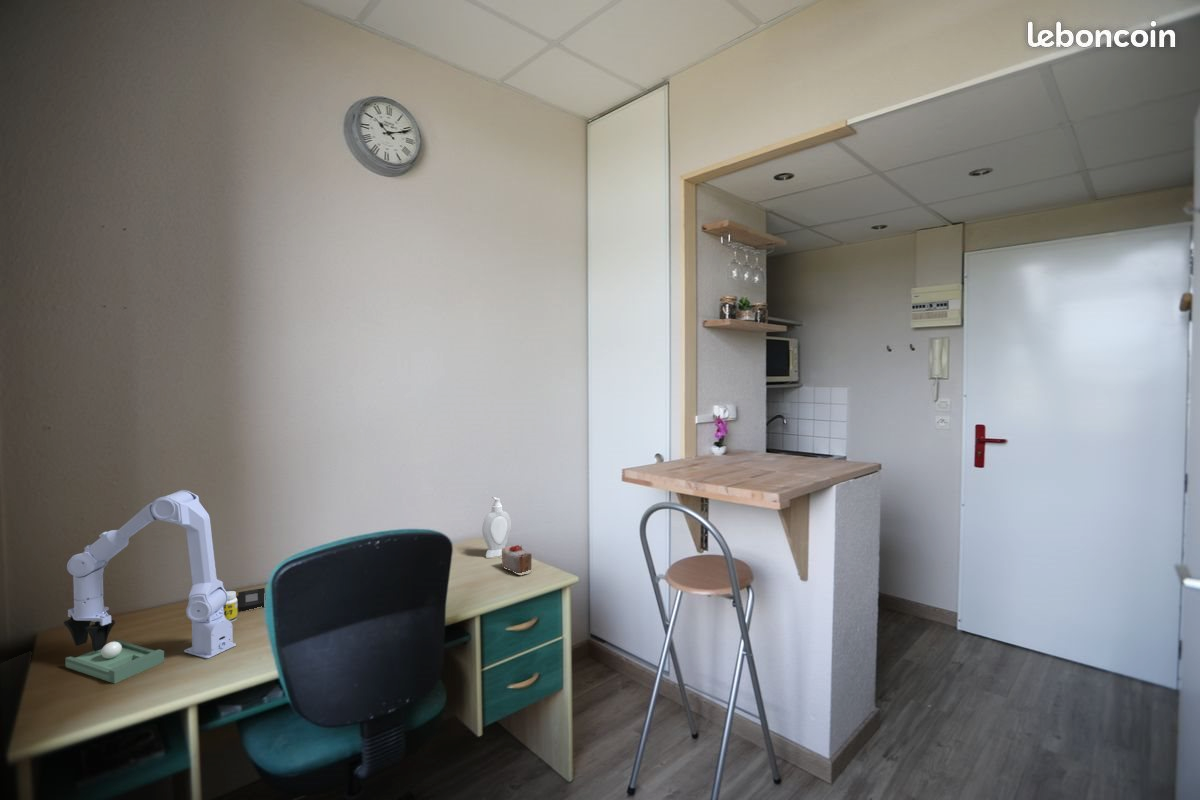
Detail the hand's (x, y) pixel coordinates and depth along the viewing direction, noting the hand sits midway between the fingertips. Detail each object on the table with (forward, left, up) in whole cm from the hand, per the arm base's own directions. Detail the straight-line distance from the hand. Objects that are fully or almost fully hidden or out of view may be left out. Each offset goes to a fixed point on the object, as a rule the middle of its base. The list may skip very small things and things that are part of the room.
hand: (90, 646), depth 146 cm
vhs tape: (-6, -41, -3) cm, 41 cm away
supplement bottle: (-12, -28, -3) cm, 31 cm away
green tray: (-11, 0, -3) cm, 11 cm away
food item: (-71, -101, -3) cm, 124 cm away
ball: (-9, 0, +1) cm, 9 cm away
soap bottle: (-54, -113, -3) cm, 126 cm away
